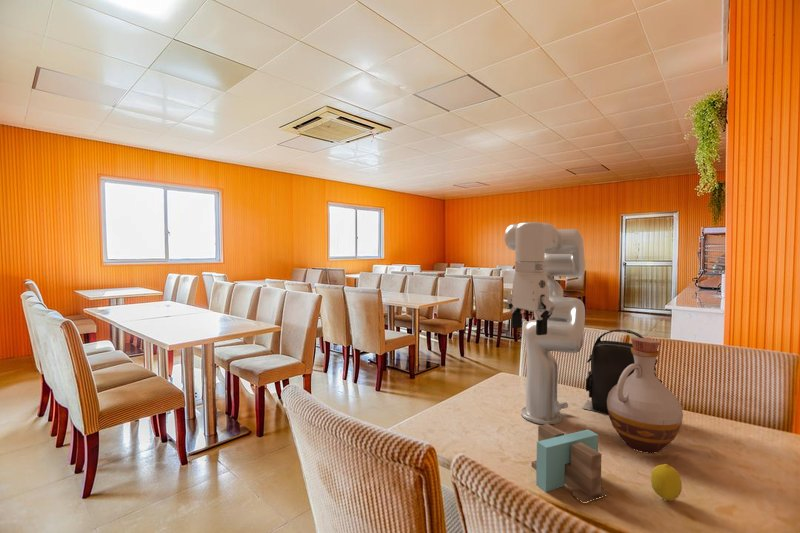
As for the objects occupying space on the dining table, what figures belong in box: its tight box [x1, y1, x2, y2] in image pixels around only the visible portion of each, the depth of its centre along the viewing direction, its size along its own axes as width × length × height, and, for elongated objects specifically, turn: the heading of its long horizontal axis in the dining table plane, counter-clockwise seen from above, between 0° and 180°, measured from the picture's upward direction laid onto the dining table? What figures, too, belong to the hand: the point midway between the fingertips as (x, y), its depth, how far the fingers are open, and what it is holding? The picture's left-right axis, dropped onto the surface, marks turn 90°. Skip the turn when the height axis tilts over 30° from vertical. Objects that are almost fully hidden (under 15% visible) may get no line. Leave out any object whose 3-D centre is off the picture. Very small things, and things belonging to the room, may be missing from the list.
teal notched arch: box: [535, 428, 599, 493], centre depth 93 cm, size 16×3×10 cm, turn 113°
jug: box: [607, 336, 684, 454], centre depth 108 cm, size 20×18×30 cm
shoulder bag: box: [582, 328, 663, 415], centre depth 131 cm, size 23×9×28 cm, turn 54°
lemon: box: [650, 463, 683, 501], centre depth 86 cm, size 6×6×8 cm
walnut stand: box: [531, 424, 608, 502], centre depth 93 cm, size 7×16×10 cm, turn 23°
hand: (528, 331), depth 107 cm, fingers open, 9 cm apart
